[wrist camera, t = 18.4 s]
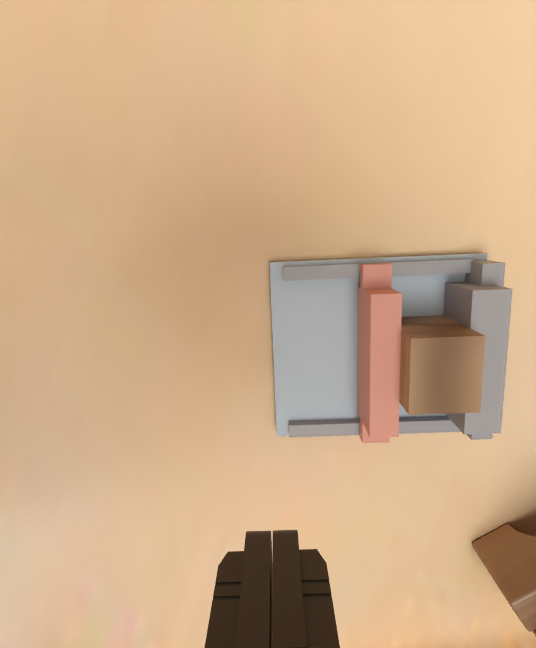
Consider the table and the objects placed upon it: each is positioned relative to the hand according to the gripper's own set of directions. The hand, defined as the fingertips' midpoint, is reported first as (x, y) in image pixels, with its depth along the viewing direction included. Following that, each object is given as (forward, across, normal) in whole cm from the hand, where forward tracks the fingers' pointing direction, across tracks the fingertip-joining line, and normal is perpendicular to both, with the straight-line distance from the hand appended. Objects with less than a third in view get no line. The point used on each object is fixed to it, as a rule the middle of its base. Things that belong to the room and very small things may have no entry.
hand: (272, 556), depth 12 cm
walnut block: (+21, -11, 0) cm, 24 cm away
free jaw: (+21, -8, 0) cm, 22 cm away
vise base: (+22, -8, 0) cm, 23 cm away
